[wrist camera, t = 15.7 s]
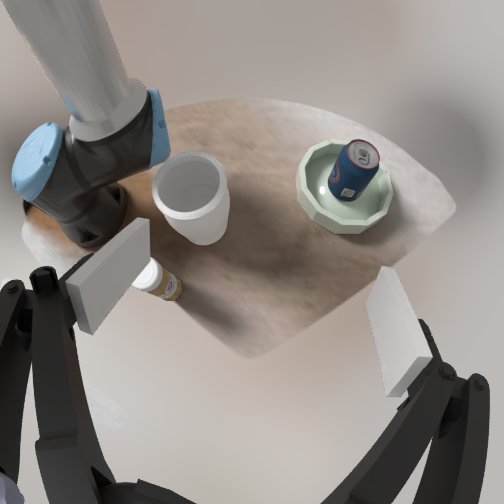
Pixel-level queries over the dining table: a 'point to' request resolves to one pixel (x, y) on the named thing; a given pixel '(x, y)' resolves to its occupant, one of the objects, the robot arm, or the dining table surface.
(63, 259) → the dining table surface
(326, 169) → the bowl
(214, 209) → the jar
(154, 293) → the sprinkles bottle
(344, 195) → the soda can
